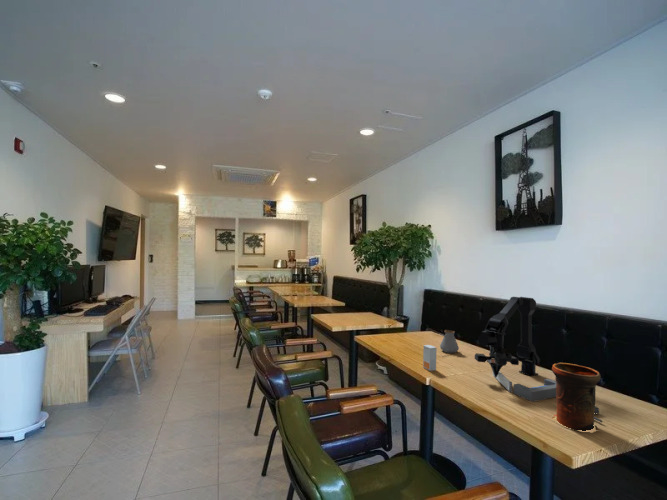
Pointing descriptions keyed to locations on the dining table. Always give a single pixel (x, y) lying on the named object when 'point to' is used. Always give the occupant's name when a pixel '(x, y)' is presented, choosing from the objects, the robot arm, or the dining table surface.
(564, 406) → the vessel
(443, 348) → the coffee pot
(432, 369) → the skincare box
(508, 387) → the light grey flat bar
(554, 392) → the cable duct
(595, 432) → the dining table surface
